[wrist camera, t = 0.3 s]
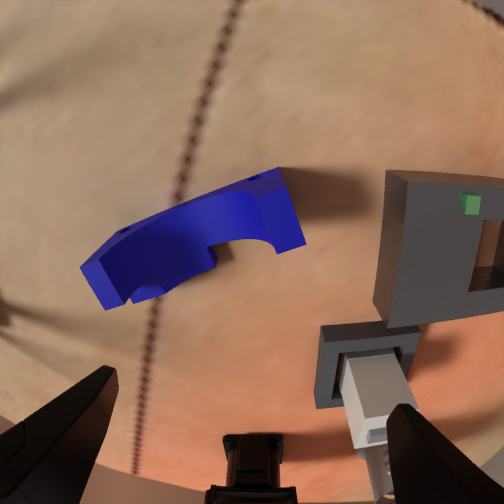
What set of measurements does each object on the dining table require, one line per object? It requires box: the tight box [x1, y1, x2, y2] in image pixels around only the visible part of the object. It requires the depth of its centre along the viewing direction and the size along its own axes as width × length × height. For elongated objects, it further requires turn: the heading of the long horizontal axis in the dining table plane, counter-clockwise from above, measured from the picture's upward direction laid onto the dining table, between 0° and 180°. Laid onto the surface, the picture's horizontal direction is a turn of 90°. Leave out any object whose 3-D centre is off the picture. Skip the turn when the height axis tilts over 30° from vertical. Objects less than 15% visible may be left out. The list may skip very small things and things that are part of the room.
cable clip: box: [80, 167, 306, 311], centre depth 19 cm, size 12×4×6 cm, turn 111°
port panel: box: [373, 170, 504, 328], centre depth 19 cm, size 10×18×4 cm, turn 93°
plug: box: [337, 347, 419, 449], centre depth 22 cm, size 4×4×9 cm
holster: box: [314, 321, 421, 409], centre depth 25 cm, size 8×8×2 cm
